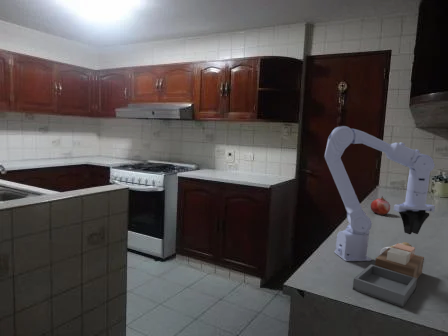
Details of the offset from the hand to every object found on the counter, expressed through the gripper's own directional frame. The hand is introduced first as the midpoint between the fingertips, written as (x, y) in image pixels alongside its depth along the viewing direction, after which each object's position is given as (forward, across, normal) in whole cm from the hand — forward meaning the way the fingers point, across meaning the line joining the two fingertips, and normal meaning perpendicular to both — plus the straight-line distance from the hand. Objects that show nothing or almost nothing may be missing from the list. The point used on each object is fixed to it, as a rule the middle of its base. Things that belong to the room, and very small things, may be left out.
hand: (411, 233), depth 106 cm
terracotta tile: (+5, +6, +4) cm, 9 cm away
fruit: (+11, -43, -60) cm, 75 cm away
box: (+10, +21, +13) cm, 27 cm away
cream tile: (+5, +12, +7) cm, 15 cm away
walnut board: (+10, +9, +6) cm, 15 cm away
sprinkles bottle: (+8, -7, -7) cm, 13 cm away
